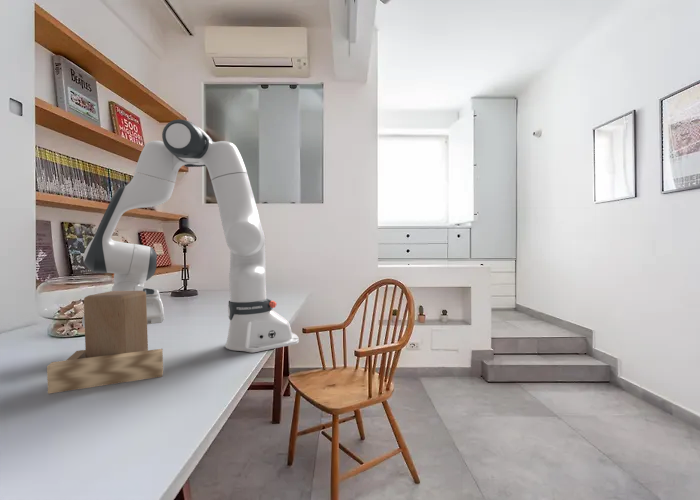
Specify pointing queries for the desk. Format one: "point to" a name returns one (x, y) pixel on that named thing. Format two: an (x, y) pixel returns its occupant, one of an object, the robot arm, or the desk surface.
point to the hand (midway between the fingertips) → (122, 337)
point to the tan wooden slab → (103, 370)
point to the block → (115, 323)
